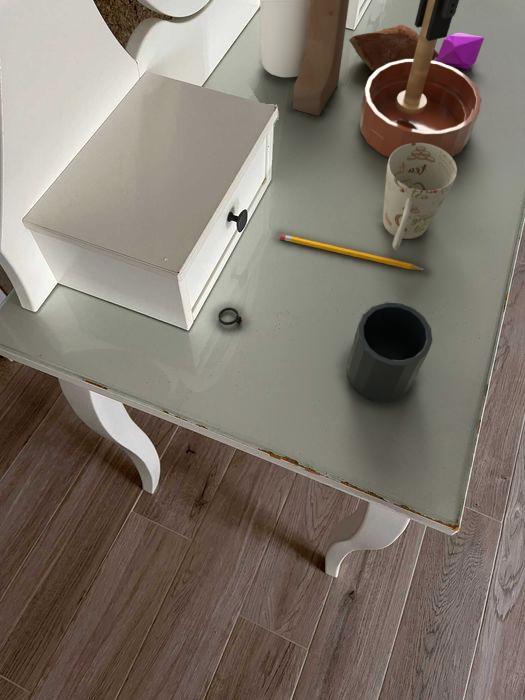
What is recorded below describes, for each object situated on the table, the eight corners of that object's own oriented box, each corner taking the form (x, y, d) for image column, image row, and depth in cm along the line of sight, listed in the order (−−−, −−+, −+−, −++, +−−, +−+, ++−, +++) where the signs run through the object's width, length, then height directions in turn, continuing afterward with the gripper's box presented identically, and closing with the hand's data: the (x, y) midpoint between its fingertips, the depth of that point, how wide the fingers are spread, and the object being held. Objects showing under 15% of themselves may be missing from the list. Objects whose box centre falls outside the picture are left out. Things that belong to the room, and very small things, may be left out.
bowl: (488, 151, 86) (502, 117, 81) (388, 179, 83) (396, 145, 78) (435, 84, 94) (445, 49, 89) (341, 107, 91) (346, 72, 86)
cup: (291, 92, 93) (296, 2, 80) (249, 72, 95) (248, -19, 83) (321, 65, 96) (330, -25, 84) (280, 46, 98) (283, -44, 86)
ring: (215, 322, 72) (236, 330, 71) (214, 317, 71) (235, 326, 70) (225, 308, 73) (246, 316, 72) (224, 303, 72) (245, 311, 71)
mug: (440, 207, 81) (461, 150, 72) (424, 277, 75) (446, 224, 66) (381, 194, 82) (395, 136, 73) (361, 261, 76) (374, 207, 67)
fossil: (450, 53, 92) (429, 5, 84) (424, 100, 92) (400, 56, 84) (386, 48, 100) (361, 4, 92) (362, 90, 100) (335, 50, 93)
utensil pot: (423, 390, 67) (445, 351, 59) (363, 411, 66) (377, 374, 58) (394, 336, 70) (411, 294, 63) (336, 355, 69) (346, 314, 61)
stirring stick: (430, 111, 86) (476, -42, 68) (403, 117, 86) (443, -35, 67) (416, 92, 88) (457, -61, 70) (390, 99, 88) (425, -54, 69)
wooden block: (319, 117, 90) (331, -2, 74) (292, 109, 91) (298, -10, 75) (338, 83, 94) (354, -37, 78) (312, 76, 95) (323, -44, 79)
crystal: (455, 49, 98) (463, 22, 94) (478, 66, 96) (488, 39, 92) (433, 60, 97) (440, 34, 93) (456, 77, 95) (465, 51, 91)
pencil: (281, 236, 78) (281, 232, 78) (423, 268, 76) (425, 265, 75) (279, 240, 78) (279, 237, 77) (422, 273, 75) (424, 270, 75)
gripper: (420, -229, 59) (379, 4, 80) (501, -167, 52) (432, 71, 73) (484, -238, 61) (428, -7, 81) (572, -178, 54) (485, 59, 74)
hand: (430, 30), depth 77 cm, fingers closed on stirring stick, 2 cm apart
